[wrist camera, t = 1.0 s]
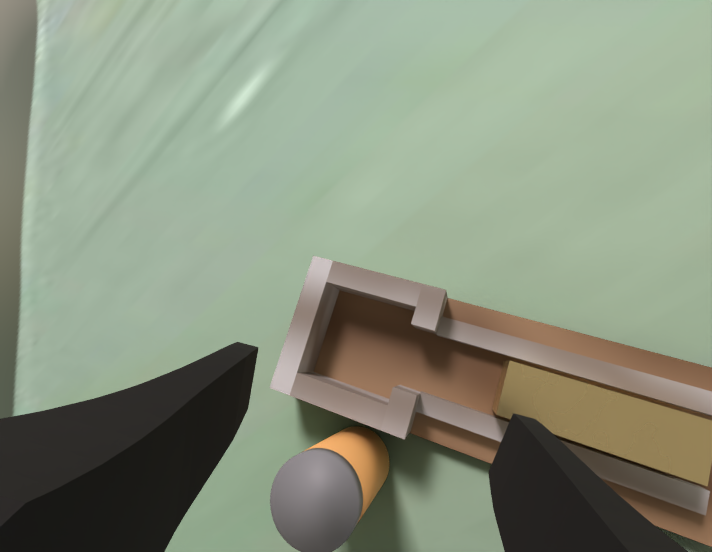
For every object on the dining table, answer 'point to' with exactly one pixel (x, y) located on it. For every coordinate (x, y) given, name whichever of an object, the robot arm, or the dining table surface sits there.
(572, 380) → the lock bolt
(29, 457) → the robot arm
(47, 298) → the dining table surface
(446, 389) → the mount
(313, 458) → the cylinder
